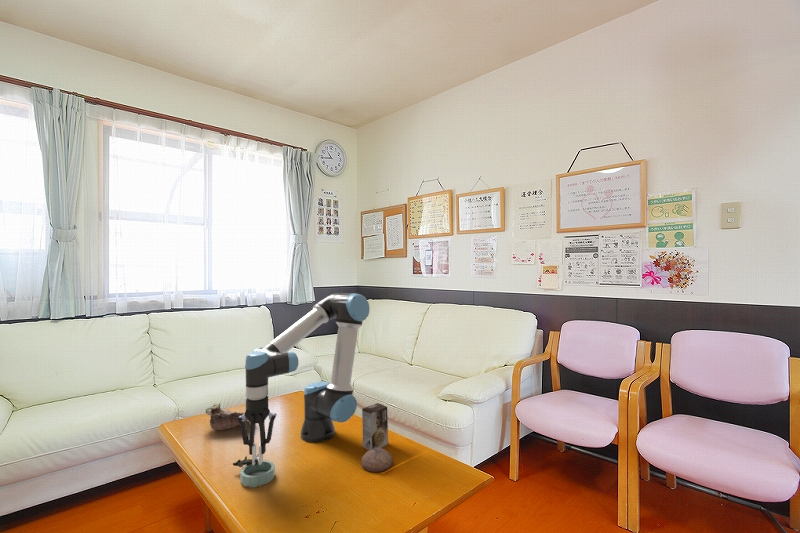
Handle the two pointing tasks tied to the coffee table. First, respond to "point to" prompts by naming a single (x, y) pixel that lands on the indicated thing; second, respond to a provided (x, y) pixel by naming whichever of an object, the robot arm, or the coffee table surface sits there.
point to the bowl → (257, 474)
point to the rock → (222, 417)
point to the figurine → (245, 462)
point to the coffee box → (375, 426)
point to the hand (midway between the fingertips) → (257, 462)
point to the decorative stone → (377, 460)
